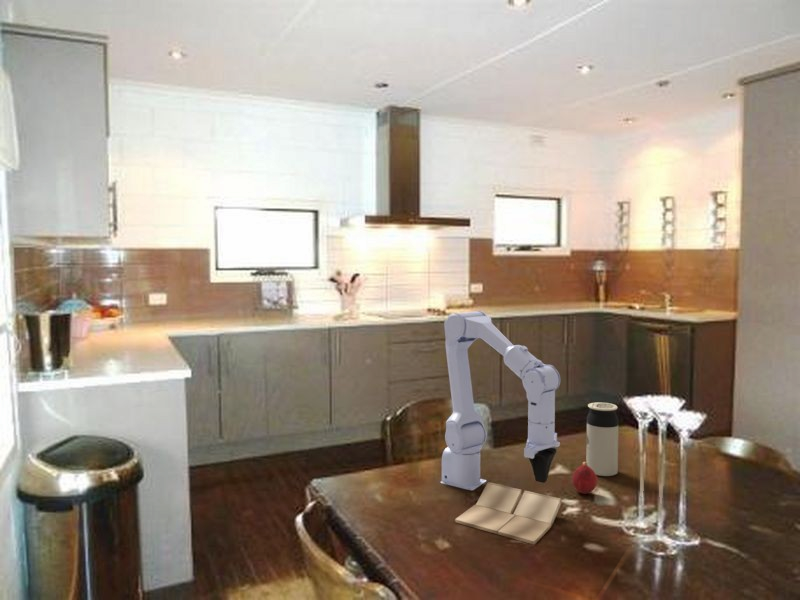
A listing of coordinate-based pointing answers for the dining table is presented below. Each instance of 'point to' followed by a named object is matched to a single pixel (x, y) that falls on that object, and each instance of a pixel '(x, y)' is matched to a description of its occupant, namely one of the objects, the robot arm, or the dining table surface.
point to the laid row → (504, 524)
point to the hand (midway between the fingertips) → (541, 481)
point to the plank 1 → (499, 497)
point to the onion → (584, 479)
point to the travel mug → (602, 439)
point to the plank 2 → (538, 507)
